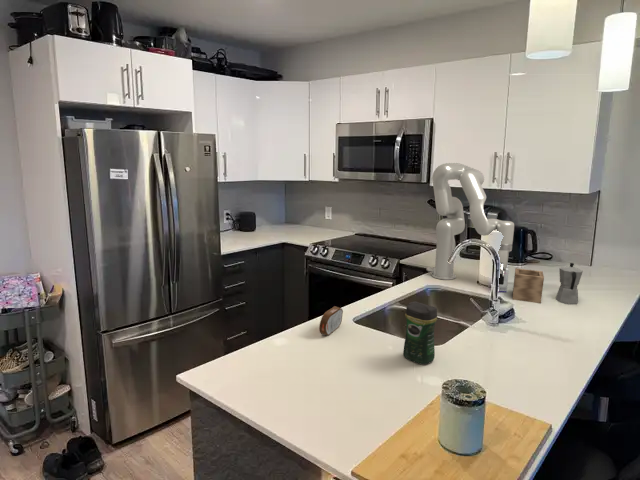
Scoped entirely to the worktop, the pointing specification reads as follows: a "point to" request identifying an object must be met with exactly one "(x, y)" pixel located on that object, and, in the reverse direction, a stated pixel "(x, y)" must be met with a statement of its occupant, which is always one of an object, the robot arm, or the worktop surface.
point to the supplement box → (504, 287)
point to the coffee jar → (420, 333)
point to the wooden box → (528, 285)
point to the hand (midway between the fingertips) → (500, 281)
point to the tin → (331, 320)
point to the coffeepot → (569, 284)
